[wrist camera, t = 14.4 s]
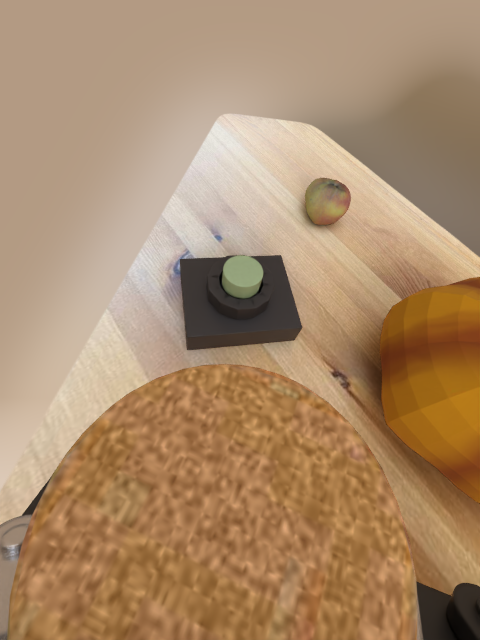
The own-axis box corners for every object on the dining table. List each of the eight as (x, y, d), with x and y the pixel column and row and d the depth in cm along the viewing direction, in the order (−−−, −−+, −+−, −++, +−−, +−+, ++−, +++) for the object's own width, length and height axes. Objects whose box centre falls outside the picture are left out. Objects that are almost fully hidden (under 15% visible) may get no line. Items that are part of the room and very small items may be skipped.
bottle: (201, 431, 19) (219, 271, 6) (277, 507, 17) (531, 522, 4) (119, 518, 16) (-188, 583, 3) (200, 618, 14) (261, 1555, 2)
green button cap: (224, 300, 31) (226, 288, 29) (219, 268, 33) (220, 255, 31) (263, 297, 32) (267, 285, 30) (255, 267, 34) (259, 254, 32)
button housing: (187, 350, 33) (186, 327, 28) (180, 275, 38) (179, 246, 33) (294, 340, 35) (308, 318, 31) (275, 270, 40) (285, 243, 36)
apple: (319, 244, 43) (336, 210, 38) (290, 206, 46) (301, 170, 41) (352, 233, 45) (372, 200, 40) (322, 198, 48) (337, 163, 43)
